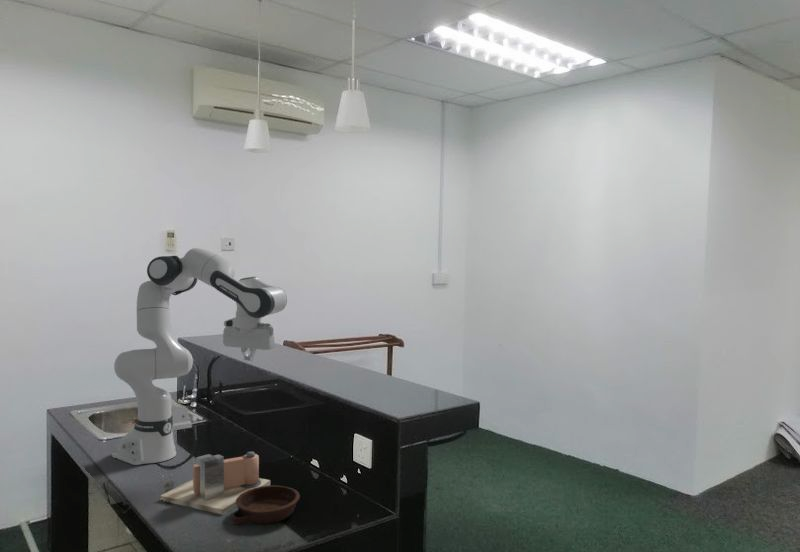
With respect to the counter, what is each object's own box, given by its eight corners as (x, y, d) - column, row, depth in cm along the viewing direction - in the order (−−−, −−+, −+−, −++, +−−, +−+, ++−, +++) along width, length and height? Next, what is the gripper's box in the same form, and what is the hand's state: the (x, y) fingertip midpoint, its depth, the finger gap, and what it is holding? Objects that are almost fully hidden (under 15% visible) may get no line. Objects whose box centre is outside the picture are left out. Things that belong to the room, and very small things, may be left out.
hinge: (150, 434, 235) (148, 409, 237) (147, 435, 238) (145, 410, 240) (192, 427, 244) (190, 403, 247) (189, 428, 248) (187, 404, 250)
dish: (317, 510, 170) (318, 493, 169) (254, 538, 153) (255, 520, 152) (279, 493, 181) (279, 477, 180) (216, 518, 164) (216, 500, 163)
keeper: (215, 489, 179) (215, 452, 178) (223, 494, 175) (223, 456, 175) (196, 495, 174) (196, 457, 174) (204, 500, 171) (204, 461, 170)
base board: (160, 500, 174) (160, 494, 174) (212, 473, 195) (212, 467, 195) (222, 514, 165) (222, 508, 165) (270, 484, 186) (270, 479, 186)
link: (256, 477, 187) (256, 449, 186) (260, 483, 182) (260, 454, 182) (192, 489, 177) (192, 459, 176) (195, 495, 173) (195, 464, 172)
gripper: (278, 322, 208) (278, 361, 209) (231, 319, 216) (231, 356, 217) (267, 324, 202) (267, 364, 203) (220, 321, 210) (220, 359, 211)
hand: (248, 360), depth 210 cm, fingers closed
